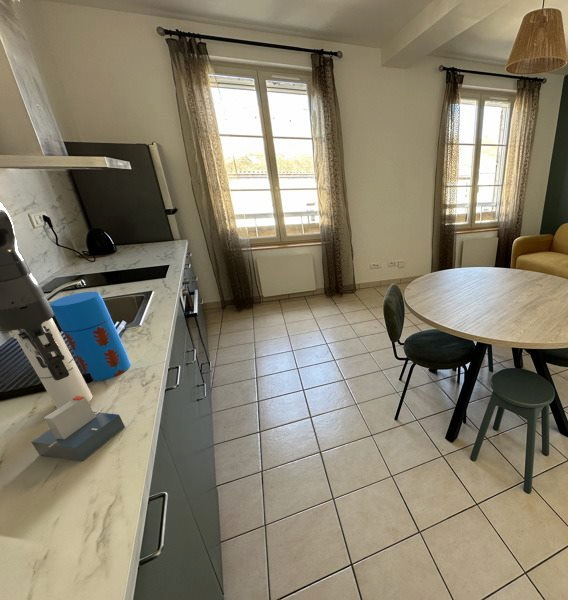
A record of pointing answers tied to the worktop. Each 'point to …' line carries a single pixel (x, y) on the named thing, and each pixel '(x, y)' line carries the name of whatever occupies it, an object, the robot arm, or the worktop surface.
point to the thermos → (91, 334)
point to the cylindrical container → (62, 388)
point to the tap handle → (70, 417)
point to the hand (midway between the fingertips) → (55, 371)
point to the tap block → (80, 438)
